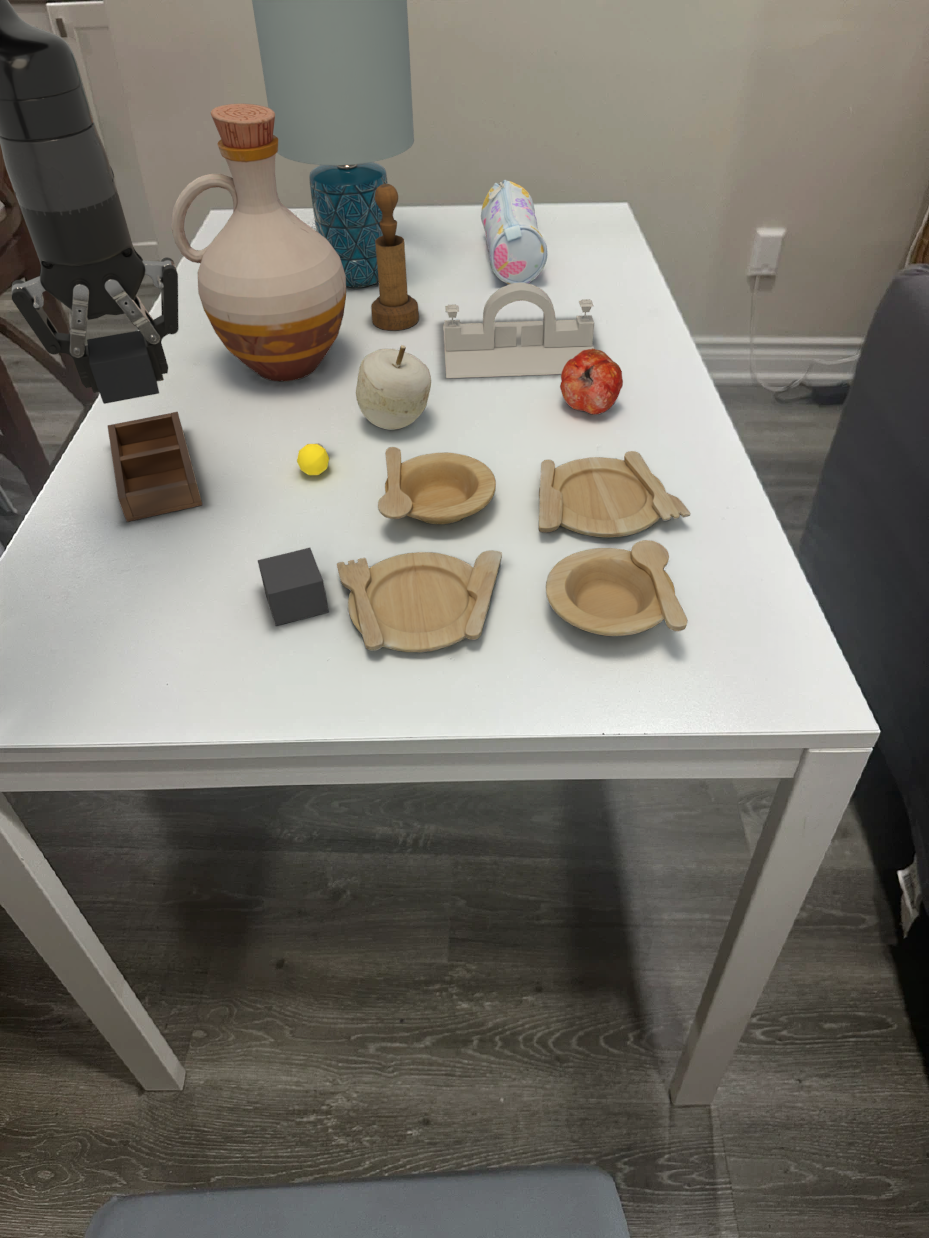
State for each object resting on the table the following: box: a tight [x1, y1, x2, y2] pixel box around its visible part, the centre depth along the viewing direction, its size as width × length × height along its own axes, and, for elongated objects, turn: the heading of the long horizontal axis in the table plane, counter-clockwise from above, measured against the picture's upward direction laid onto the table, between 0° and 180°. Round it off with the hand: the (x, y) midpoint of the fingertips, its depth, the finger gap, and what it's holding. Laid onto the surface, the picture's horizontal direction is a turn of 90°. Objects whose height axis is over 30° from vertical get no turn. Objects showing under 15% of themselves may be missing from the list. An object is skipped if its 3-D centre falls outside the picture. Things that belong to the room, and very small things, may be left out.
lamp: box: [251, 0, 415, 288], centre depth 120 cm, size 19×19×38 cm
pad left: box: [86, 330, 160, 405], centre depth 80 cm, size 5×5×4 cm
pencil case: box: [480, 179, 548, 285], centre depth 133 cm, size 21×9×10 cm, turn 3°
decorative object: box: [355, 344, 432, 431], centre depth 100 cm, size 9×9×10 cm
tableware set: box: [336, 446, 692, 653], centre depth 85 cm, size 35×29×4 cm
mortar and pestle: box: [370, 183, 420, 331], centre depth 117 cm, size 7×6×18 cm
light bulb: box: [296, 443, 330, 476], centre depth 97 cm, size 3×6×4 cm, turn 1°
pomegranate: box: [559, 348, 624, 415], centre depth 103 cm, size 7×7×10 cm
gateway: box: [442, 282, 595, 352], centre depth 114 cm, size 20×2×8 cm, turn 93°
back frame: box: [107, 411, 203, 523], centre depth 96 cm, size 8×15×3 cm, turn 21°
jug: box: [171, 103, 347, 382], centre depth 103 cm, size 20×18×30 cm
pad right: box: [257, 547, 329, 627], centre depth 80 cm, size 5×5×4 cm
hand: (128, 382), depth 81 cm, fingers closed on pad left, 5 cm apart
